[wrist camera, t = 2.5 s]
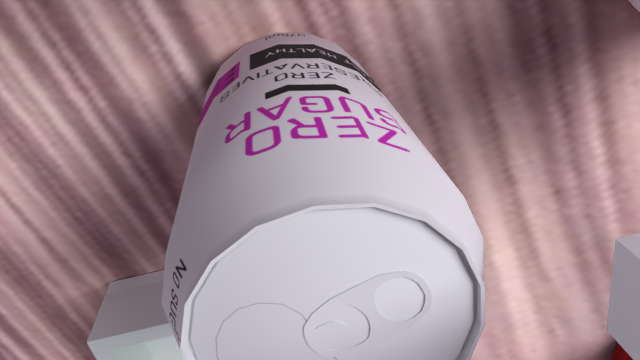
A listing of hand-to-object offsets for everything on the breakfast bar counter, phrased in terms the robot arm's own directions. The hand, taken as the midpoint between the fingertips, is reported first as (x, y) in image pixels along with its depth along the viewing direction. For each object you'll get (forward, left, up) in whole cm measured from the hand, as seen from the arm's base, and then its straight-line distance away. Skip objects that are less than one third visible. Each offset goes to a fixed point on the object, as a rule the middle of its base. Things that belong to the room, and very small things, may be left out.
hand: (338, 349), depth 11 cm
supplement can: (0, 0, -15) cm, 15 cm away
